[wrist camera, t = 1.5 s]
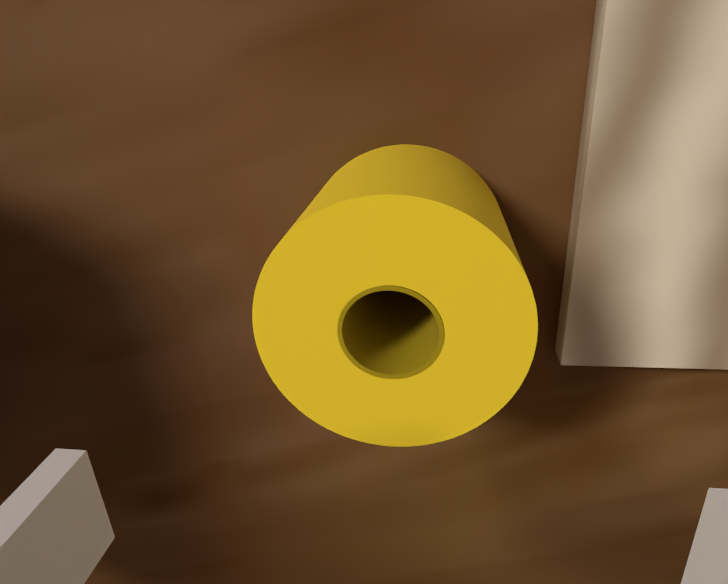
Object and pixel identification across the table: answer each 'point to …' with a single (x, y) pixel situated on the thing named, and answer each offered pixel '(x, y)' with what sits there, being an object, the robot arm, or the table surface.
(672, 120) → the board
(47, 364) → the table surface
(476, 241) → the tape roll
